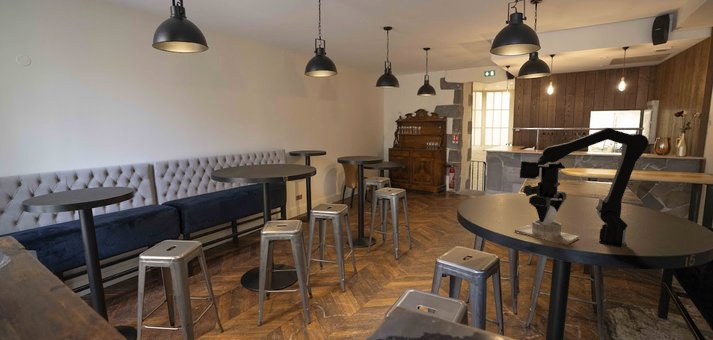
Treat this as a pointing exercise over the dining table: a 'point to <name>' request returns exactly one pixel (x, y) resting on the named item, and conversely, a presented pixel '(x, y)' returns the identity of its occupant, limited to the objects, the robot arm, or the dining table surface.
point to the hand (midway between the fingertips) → (546, 219)
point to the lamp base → (556, 239)
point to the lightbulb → (550, 216)
